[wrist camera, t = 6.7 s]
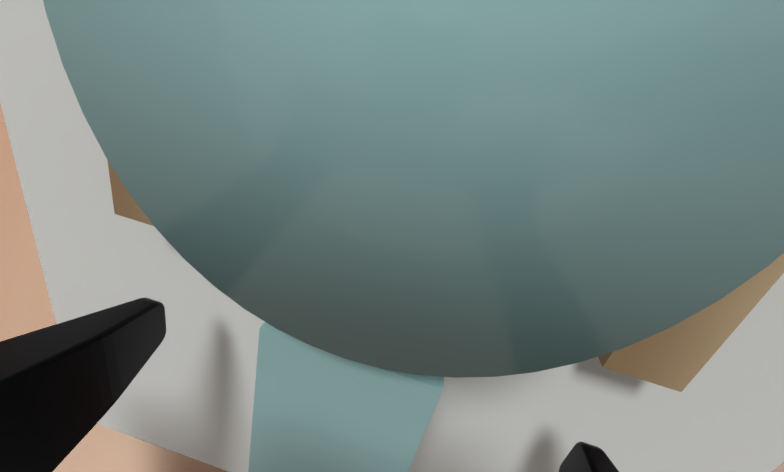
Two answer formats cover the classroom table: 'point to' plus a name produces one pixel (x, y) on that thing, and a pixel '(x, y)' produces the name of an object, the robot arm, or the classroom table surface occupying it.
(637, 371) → the cradle
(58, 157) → the board
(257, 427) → the teal dome with tabs
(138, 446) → the classroom table surface
